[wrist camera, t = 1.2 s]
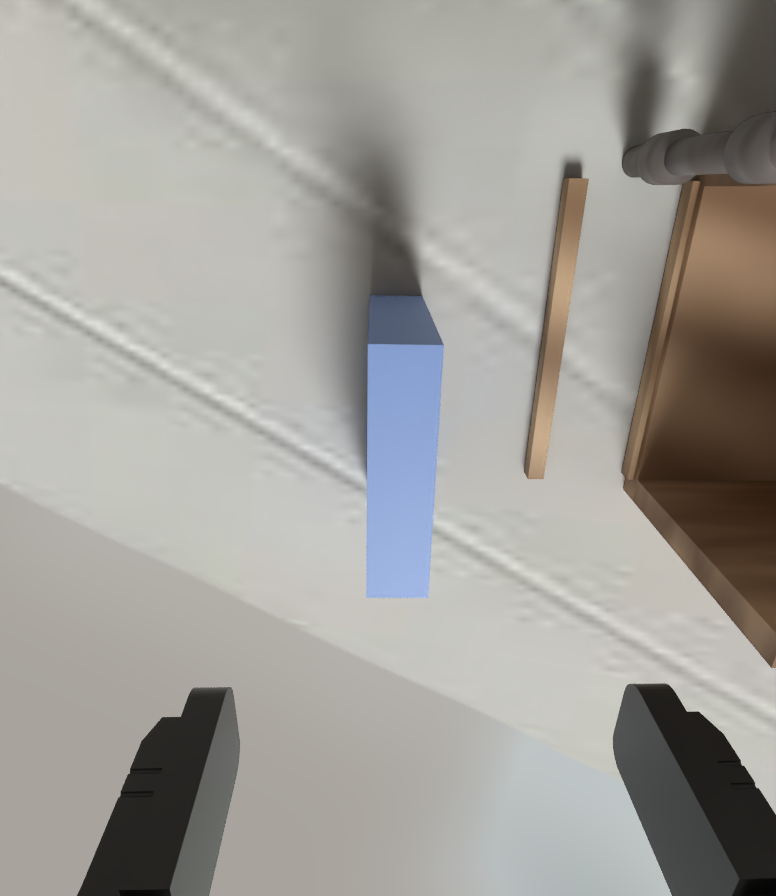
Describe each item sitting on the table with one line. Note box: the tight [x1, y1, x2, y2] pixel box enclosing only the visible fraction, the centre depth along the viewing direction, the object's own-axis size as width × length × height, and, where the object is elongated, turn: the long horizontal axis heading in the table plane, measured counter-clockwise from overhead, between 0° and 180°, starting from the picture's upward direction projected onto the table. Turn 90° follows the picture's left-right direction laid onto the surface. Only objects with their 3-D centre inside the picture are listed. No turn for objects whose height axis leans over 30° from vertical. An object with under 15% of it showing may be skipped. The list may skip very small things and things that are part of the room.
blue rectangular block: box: [366, 295, 444, 598], centre depth 24 cm, size 10×2×9 cm, turn 179°
